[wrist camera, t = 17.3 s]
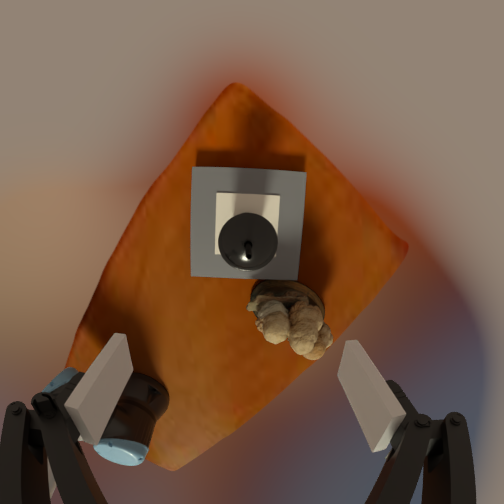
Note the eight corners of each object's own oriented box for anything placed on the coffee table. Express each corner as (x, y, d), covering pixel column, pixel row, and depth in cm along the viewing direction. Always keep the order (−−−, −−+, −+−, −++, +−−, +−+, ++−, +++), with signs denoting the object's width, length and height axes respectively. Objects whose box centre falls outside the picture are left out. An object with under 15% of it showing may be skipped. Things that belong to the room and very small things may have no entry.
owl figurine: (234, 311, 56) (231, 360, 39) (261, 263, 54) (269, 298, 37) (306, 342, 58) (325, 392, 42) (335, 299, 56) (365, 341, 39)
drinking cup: (276, 233, 48) (297, 268, 29) (239, 254, 49) (236, 302, 30) (254, 196, 47) (262, 206, 27) (216, 218, 47) (198, 244, 28)
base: (193, 270, 53) (190, 276, 50) (195, 167, 48) (192, 166, 45) (294, 274, 54) (297, 280, 51) (302, 172, 49) (306, 172, 46)
